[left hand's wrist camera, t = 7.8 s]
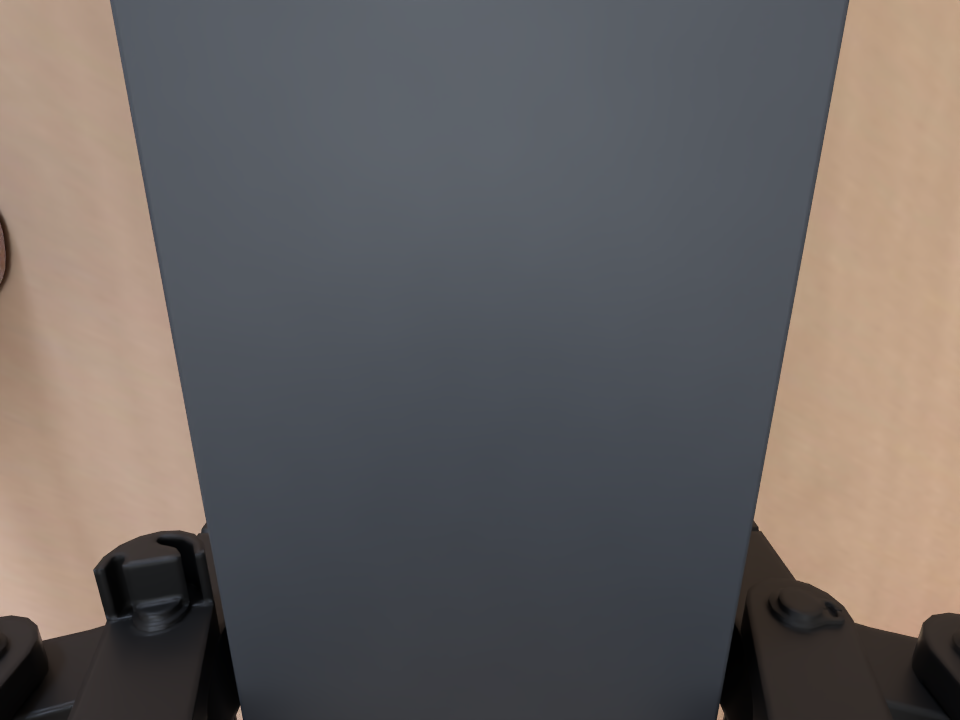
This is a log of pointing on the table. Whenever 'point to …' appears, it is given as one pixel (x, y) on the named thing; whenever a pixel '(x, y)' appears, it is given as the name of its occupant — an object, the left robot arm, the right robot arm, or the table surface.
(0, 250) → the figurine
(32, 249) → the table surface
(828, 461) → the table surface
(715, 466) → the bar
